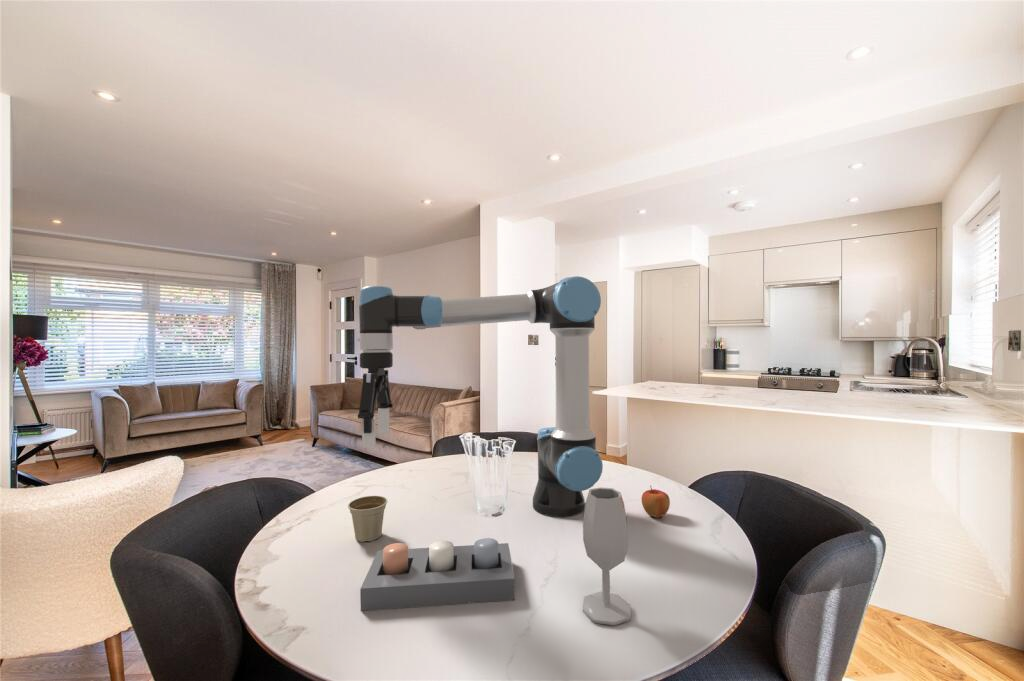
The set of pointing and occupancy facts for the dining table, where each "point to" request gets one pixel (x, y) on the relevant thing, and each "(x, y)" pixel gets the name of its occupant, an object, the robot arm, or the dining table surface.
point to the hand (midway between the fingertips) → (376, 440)
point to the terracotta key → (395, 559)
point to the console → (438, 581)
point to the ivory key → (441, 556)
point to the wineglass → (605, 552)
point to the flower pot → (367, 517)
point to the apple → (655, 502)
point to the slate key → (486, 553)
